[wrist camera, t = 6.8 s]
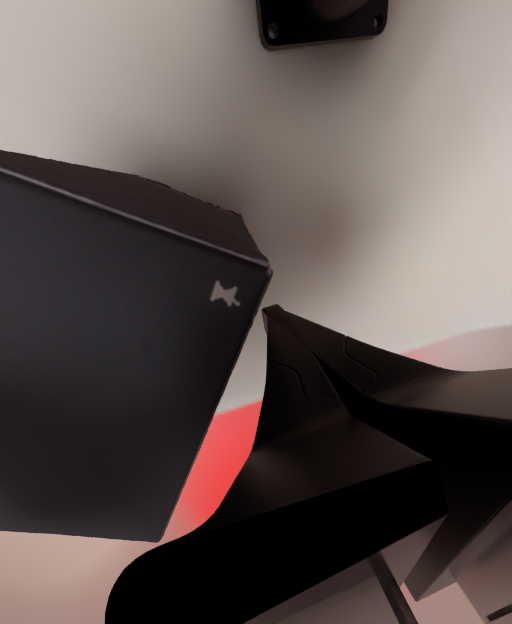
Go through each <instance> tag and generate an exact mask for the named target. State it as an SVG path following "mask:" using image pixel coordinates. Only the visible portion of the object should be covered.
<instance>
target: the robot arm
mask: <svg viewBox="0 0 512 624" xmlns="http://www.w3.org/2000/svg"><path fill="white" fill-rule="evenodd" d="M256 3H257V13H258V22H259V32H260V38H261V42H262V44H263V45H264V47H265V48H267V49H269V50H275V49H284V48H293V47H302V46H311V45H320V44H329V43H338V42H347V41H356V40H365V39H372V38H375V37H376V36H378V35H379V34H381V33H382V31H383V30H384V28H385V26H386V21H387V11H388V0H256ZM374 18H375V19H376V20H377V26H376V28H375V26H374ZM268 27H272V28H273V29H274V31H275V39H272V38H271V37H270V36H269V34H268ZM262 316H263V322H264V327H265V331H266V334H267V366H266V384H265V390H264V397H263V401H262V406H261V411H260V416H259V421H258V426H257V431H256V435H255V439H254V443H253V446H252V449H251V452H250V455H249V457H248V458H247V460H246V462H245V463H244V465H243V467H242V469H241V470H240V472H239V474H238V475H237V477H236V479H235V480H234V482H233V484H232V486H231V487H230V489H229V491H228V492H227V494H226V496H225V497H224V499H223V501H222V502H221V504H220V506H219V507H218V508H217V510H216V511H215V513H214V514H213V515H212V516H211V517H210V518H209V519H208V520H207V521H206V522H205V523H203V524H202V525H201V526H199V527H198V528H196V529H195V530H194V531H192V532H190V533H188V534H186V535H184V536H182V537H180V538H178V539H175V540H173V541H170V542H168V543H165V544H163V545H160V546H158V547H156V548H154V549H152V550H150V551H147V552H146V553H144V554H143V555H141V556H139V557H138V558H136V559H135V560H134V561H133V562H131V563H130V564H129V565H128V566H127V567H126V568H125V569H124V570H123V571H122V573H121V574H120V576H119V577H118V579H117V580H116V582H115V584H114V586H113V588H112V590H111V592H110V595H109V598H108V602H107V607H106V611H105V624H418V622H417V620H416V618H415V616H414V615H413V613H412V611H411V609H410V607H409V605H408V603H407V602H406V599H405V597H404V596H403V594H402V592H401V590H400V587H401V585H402V583H403V582H404V583H405V584H406V586H407V588H408V590H409V591H410V593H411V595H412V596H413V598H414V599H415V601H419V600H421V599H423V598H425V597H427V596H429V595H431V594H433V593H435V592H437V591H439V590H441V589H443V588H445V587H447V586H449V585H451V584H453V583H455V582H457V584H458V585H459V587H460V588H461V590H462V591H463V593H464V594H465V595H466V597H467V599H468V600H469V602H470V603H471V604H472V606H473V607H474V609H475V610H476V612H477V613H478V615H479V616H480V618H481V619H482V621H483V622H484V624H512V368H509V369H497V370H486V371H472V372H471V371H455V370H449V369H444V368H441V367H437V366H434V365H431V364H427V363H424V362H421V361H418V360H415V359H411V358H408V357H405V356H402V355H399V354H396V353H393V352H389V351H386V350H383V349H380V348H377V347H374V346H372V345H369V344H366V343H364V342H361V341H358V340H356V339H353V338H351V337H349V336H346V337H345V335H343V334H341V333H339V332H336V331H334V330H331V329H329V328H326V327H324V326H321V325H319V324H316V323H314V322H311V321H309V320H307V319H304V318H302V317H299V316H297V315H294V314H292V313H289V312H287V311H285V310H284V309H283V308H281V307H280V306H279V305H278V304H275V305H272V306H269V307H265V308H263V309H262Z"/></svg>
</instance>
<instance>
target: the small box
mask: <svg viewBox="0 0 512 624" xmlns="http://www.w3.org/2000/svg"><path fill="white" fill-rule="evenodd" d="M272 275H273V271H272V269H271V267H270V263H269V261H268V260H267V258H266V257H265V256H264V255H263V254H262V253H260V250H259V249H258V247H257V245H256V243H255V242H254V240H253V238H252V236H251V235H250V233H249V231H248V230H247V228H246V226H245V224H244V221H243V218H242V216H241V214H237V213H235V212H233V211H229V210H223V209H221V208H220V207H219V206H214V205H213V204H211V203H206V202H203V201H202V200H199V199H195V198H194V197H191V196H188V195H187V194H185V193H181V192H178V191H176V190H173V189H171V188H170V187H169V186H168V185H164V184H162V183H159V182H156V181H152V180H149V179H145V178H142V177H140V176H138V175H130V174H126V173H120V172H114V171H109V170H104V169H98V168H92V167H88V166H82V165H77V164H71V163H66V162H62V161H56V160H53V159H44V158H39V157H36V156H31V155H26V154H21V153H15V152H7V151H3V150H0V531H12V532H13V531H14V532H28V533H47V534H61V535H72V536H84V537H97V538H108V539H121V540H130V541H147V542H159V541H160V540H161V539H162V537H163V535H164V533H165V530H166V528H167V526H168V523H169V521H170V518H171V516H172V514H173V511H174V509H175V506H176V505H177V502H178V500H179V497H180V495H181V492H182V490H183V488H184V486H185V483H186V480H187V478H188V476H189V474H190V471H191V469H192V466H193V464H194V462H195V460H196V457H197V455H198V452H199V451H200V448H201V445H202V443H203V441H204V438H205V436H206V434H207V431H208V428H209V426H210V424H211V422H212V419H213V416H214V414H215V411H216V408H217V406H218V404H219V402H220V400H221V397H222V395H223V393H224V391H225V388H226V386H227V383H228V380H229V378H230V376H231V374H232V371H233V369H234V367H235V364H236V362H237V360H238V358H239V355H240V352H241V350H242V347H243V345H244V343H245V340H246V338H247V335H248V332H249V330H250V328H251V327H252V324H253V320H254V318H255V316H256V314H257V311H258V308H259V306H260V304H261V301H262V299H263V296H264V294H265V292H266V290H267V287H268V285H269V283H270V280H271V278H272Z"/></svg>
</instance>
